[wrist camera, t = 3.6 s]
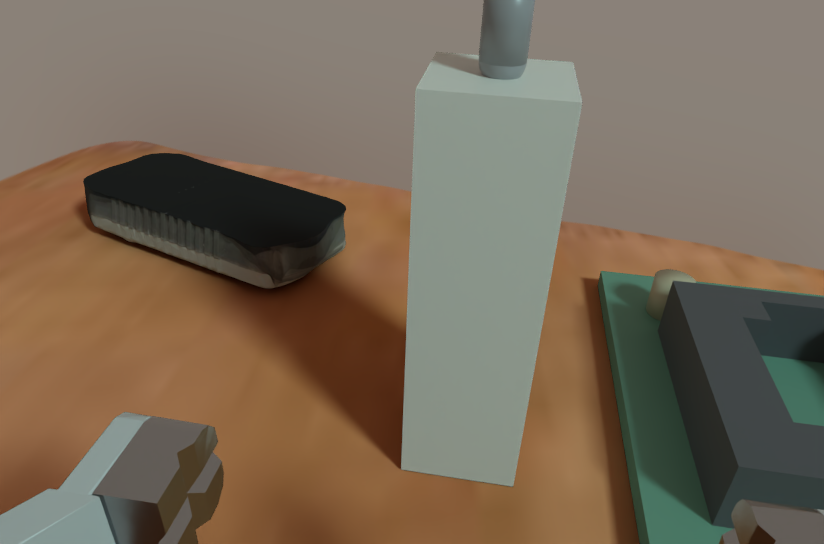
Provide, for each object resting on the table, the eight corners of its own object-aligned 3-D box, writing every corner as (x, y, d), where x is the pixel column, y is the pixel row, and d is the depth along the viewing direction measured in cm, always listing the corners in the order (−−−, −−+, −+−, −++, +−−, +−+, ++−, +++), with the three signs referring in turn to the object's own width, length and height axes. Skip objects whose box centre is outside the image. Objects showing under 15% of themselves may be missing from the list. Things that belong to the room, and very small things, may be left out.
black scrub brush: (78, 235, 40) (63, 182, 38) (178, 188, 47) (169, 141, 45) (281, 314, 34) (276, 255, 32) (365, 248, 40) (365, 196, 38)
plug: (512, 486, 24) (609, -48, 15) (401, 469, 25) (421, -58, 15) (516, 391, 29) (591, -65, 19) (421, 379, 29) (446, -72, 20)
